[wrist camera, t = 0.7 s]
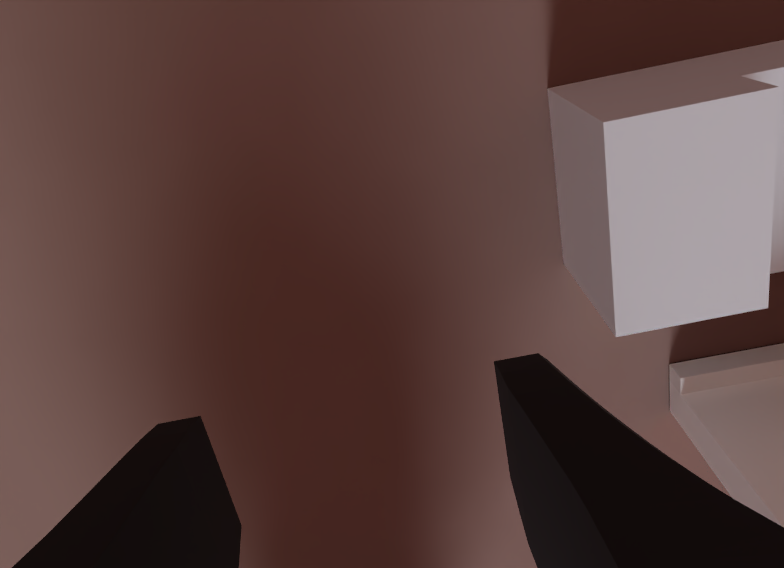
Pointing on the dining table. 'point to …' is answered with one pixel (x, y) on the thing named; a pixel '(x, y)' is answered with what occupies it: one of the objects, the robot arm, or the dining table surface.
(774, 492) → the wall shelf
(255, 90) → the dining table surface
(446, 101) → the dining table surface
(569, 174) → the pale grey notched block
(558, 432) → the robot arm
